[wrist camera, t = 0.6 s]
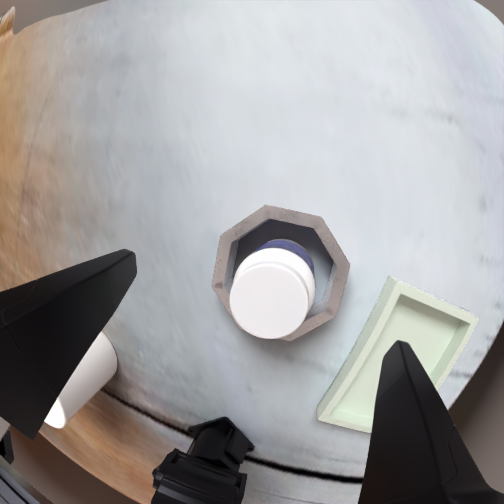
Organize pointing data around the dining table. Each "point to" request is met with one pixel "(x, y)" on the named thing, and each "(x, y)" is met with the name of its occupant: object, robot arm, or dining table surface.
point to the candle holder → (84, 381)
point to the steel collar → (231, 237)
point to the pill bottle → (273, 289)
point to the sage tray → (383, 337)
